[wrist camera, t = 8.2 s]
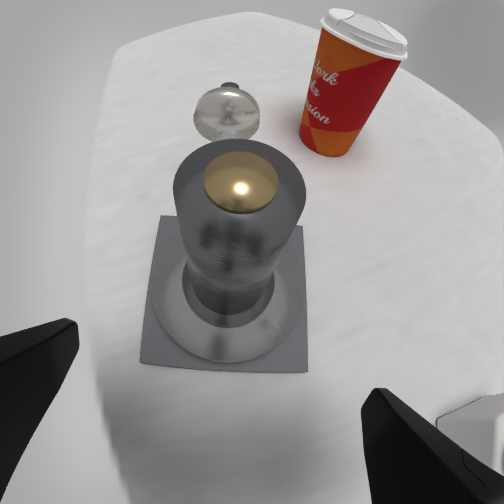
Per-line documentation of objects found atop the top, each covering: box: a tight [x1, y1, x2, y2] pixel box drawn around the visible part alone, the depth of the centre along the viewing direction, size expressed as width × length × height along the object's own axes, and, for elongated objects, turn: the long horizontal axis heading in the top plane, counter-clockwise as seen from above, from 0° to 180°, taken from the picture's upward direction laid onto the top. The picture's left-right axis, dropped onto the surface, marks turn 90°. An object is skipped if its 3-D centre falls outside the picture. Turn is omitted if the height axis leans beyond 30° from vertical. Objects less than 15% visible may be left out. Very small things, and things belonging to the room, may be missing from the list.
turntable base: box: [140, 215, 308, 373], centre depth 20 cm, size 11×11×1 cm
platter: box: [150, 230, 305, 363], centre depth 19 cm, size 11×10×1 cm
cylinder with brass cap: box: [173, 139, 306, 328], centre depth 14 cm, size 6×6×10 cm
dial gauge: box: [194, 82, 260, 142], centre depth 21 cm, size 4×4×9 cm
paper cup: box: [300, 8, 408, 157], centre depth 22 cm, size 8×8×14 cm
